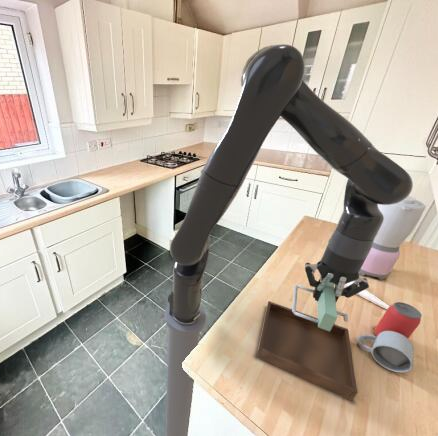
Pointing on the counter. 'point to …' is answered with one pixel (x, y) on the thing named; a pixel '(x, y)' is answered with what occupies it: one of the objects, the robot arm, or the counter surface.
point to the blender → (392, 236)
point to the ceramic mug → (390, 350)
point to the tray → (308, 350)
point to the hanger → (322, 307)
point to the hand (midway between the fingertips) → (322, 300)
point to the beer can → (399, 319)
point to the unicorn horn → (370, 297)
